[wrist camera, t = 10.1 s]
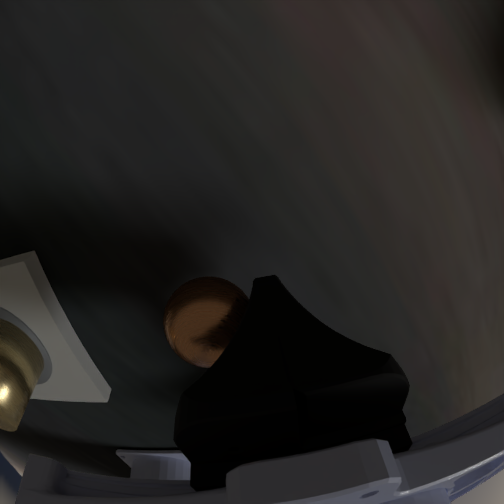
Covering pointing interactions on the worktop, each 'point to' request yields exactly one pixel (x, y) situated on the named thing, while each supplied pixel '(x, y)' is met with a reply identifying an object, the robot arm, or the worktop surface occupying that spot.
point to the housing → (16, 373)
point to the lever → (203, 319)
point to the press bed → (48, 333)
